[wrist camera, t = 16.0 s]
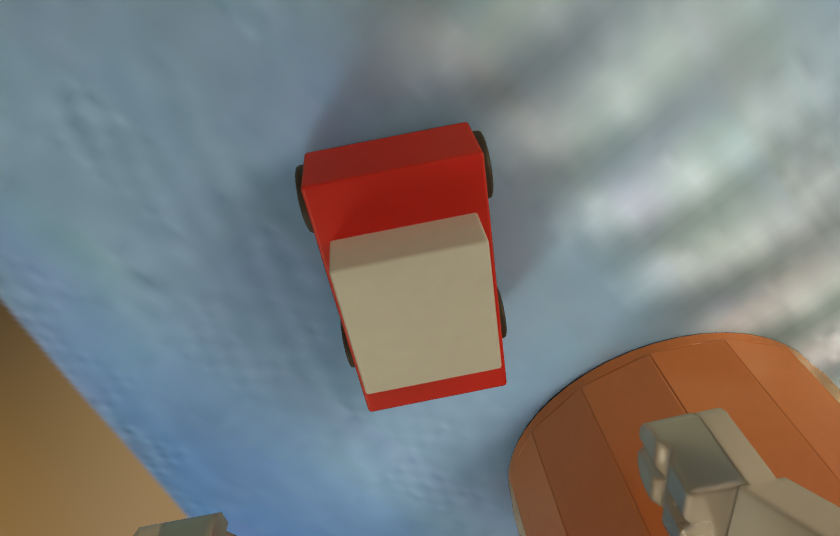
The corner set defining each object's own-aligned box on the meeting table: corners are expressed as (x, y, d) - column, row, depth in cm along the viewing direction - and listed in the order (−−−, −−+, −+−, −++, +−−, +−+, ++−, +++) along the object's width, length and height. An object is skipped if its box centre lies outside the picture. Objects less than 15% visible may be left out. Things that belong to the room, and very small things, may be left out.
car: (292, 141, 15) (279, 220, 12) (474, 105, 15) (513, 174, 12) (354, 349, 20) (359, 451, 16) (497, 321, 20) (530, 417, 16)
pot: (495, 372, 21) (560, 579, 15) (861, 300, 21) (1074, 475, 15) (517, 565, 29) (565, 752, 23) (785, 511, 29) (905, 683, 23)
